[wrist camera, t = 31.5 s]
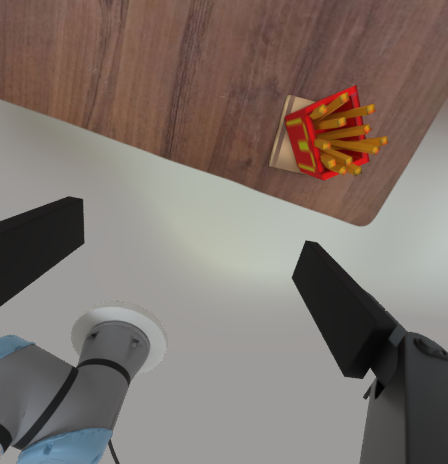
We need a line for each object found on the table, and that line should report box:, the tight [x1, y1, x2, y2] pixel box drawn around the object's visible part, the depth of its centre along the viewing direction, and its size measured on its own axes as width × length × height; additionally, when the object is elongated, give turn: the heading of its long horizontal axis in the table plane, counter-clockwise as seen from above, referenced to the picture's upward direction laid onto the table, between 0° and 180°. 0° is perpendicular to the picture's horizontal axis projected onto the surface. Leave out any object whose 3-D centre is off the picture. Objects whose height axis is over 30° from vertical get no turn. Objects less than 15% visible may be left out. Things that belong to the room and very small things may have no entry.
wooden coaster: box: [268, 95, 315, 175], centre depth 38 cm, size 11×11×1 cm
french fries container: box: [285, 85, 388, 180], centre depth 31 cm, size 7×9×14 cm
